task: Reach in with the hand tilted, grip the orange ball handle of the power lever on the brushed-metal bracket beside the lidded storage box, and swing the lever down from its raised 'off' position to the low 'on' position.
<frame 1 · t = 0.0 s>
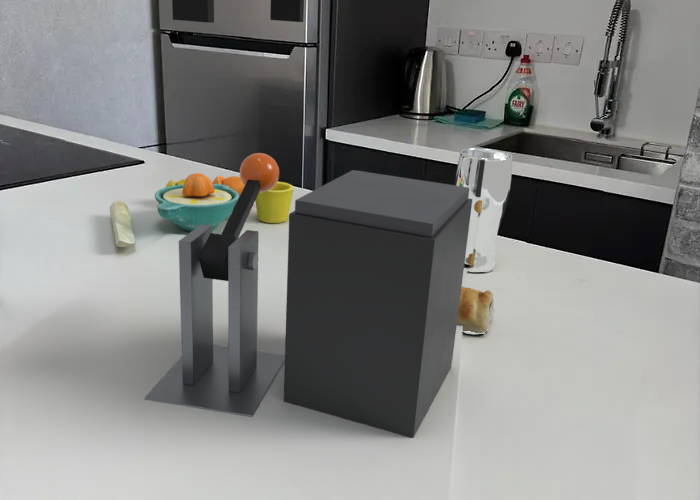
hand: (245, 21, 51), 30 cm above the countertop, tool pointing down, fingers open, 13 cm apart
lidded storage box: (371, 394, 59), on the countertop
power lever: (241, 210, 58), point 14 cm above the countertop, hinge at 25.0°
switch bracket: (220, 387, 59), on the countertop
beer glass: (471, 266, 90), on the countertop
toy juicer set: (186, 221, 101), on the countertop
pastry: (454, 322, 74), on the countertop
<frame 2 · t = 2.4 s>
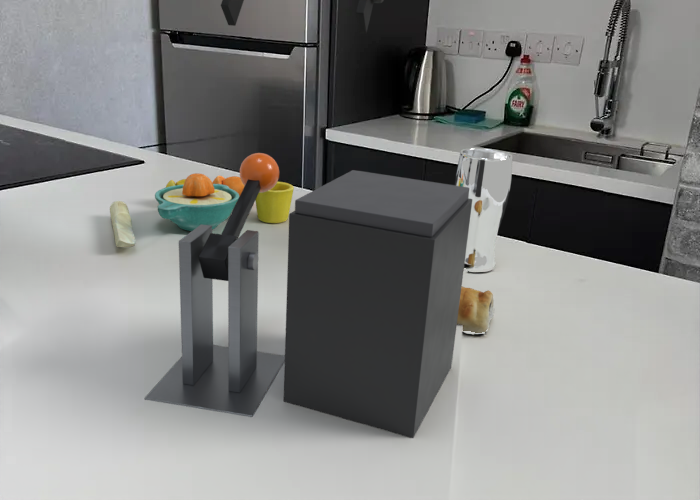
hand: (293, 19, 67), 30 cm above the countertop, tool tilted 45°, fingers open, 13 cm apart
nothing on the countertop moved.
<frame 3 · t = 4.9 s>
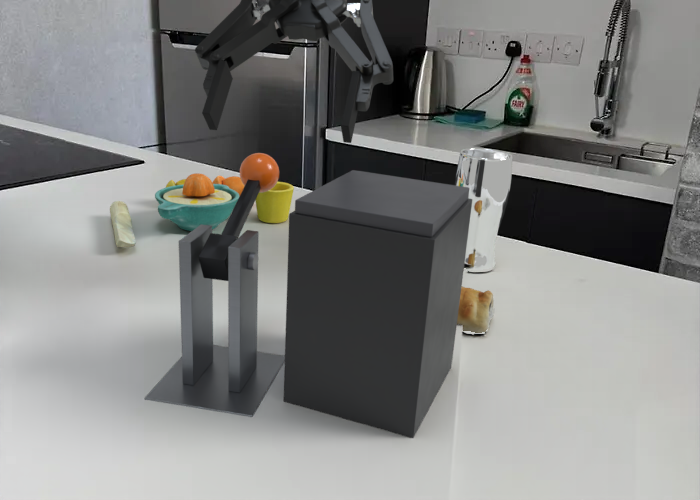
hand: (276, 128, 66), 20 cm above the countertop, tool tilted 45°, fingers open, 13 cm apart
nothing on the countertop moved.
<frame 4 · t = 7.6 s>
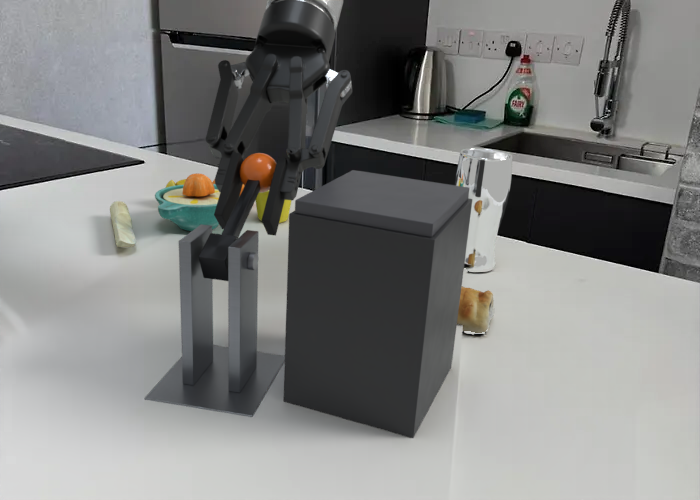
hand: (245, 224, 60), 13 cm above the countertop, tool tilted 45°, fingers closed on power lever, 4 cm apart
power lever: (241, 210, 58), point 14 cm above the countertop, hinge at 25.0°, touching gripper
everything else where it was.
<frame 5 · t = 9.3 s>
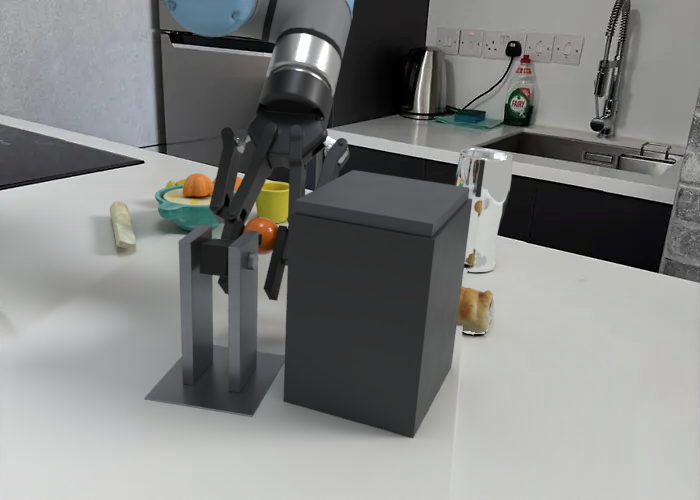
hand: (247, 291, 63), 6 cm above the countertop, tool tilted 45°, fingers closed on power lever, 4 cm apart
power lever: (243, 245, 60), point 11 cm above the countertop, hinge at -9.1°, touching gripper
everything else where it was.
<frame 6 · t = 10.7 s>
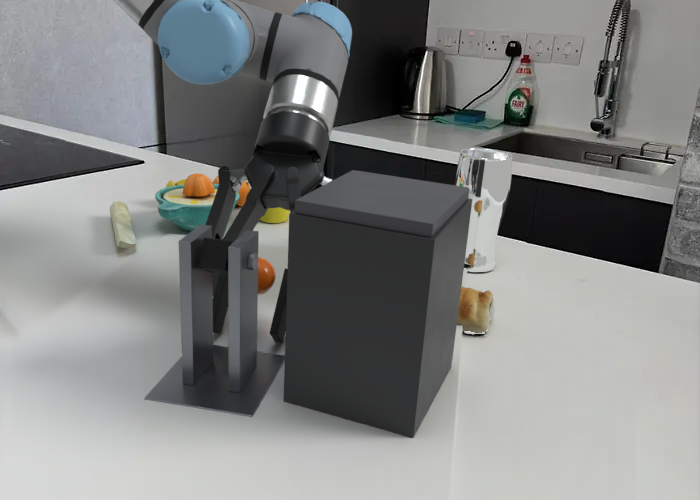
hand: (244, 333, 64), 2 cm above the countertop, tool tilted 45°, fingers open, 5 cm apart
power lever: (240, 267, 60), point 9 cm above the countertop, hinge at -29.3°
everything else where it was.
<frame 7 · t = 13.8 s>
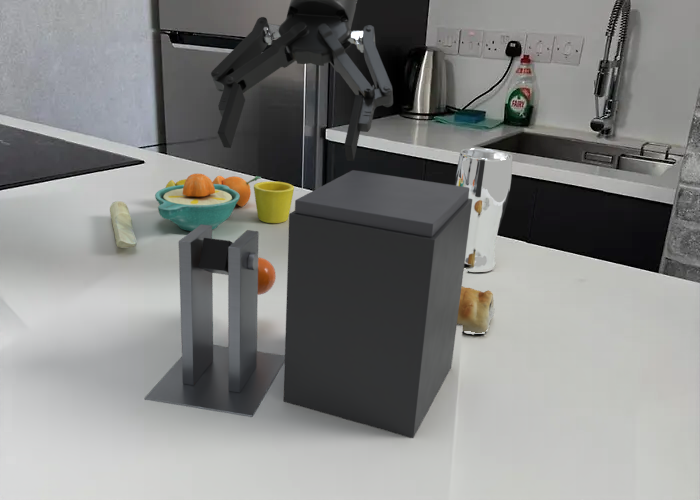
hand: (285, 147, 72), 17 cm above the countertop, tool tilted 45°, fingers open, 13 cm apart
nothing on the countertop moved.
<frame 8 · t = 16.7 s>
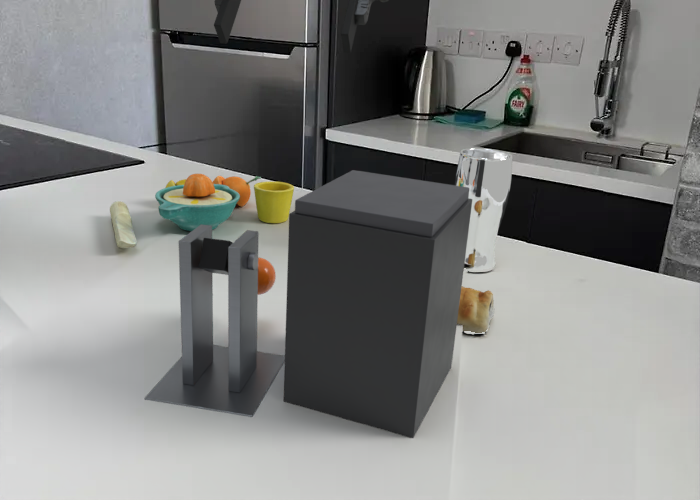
hand: (282, 39, 71), 28 cm above the countertop, tool tilted 45°, fingers open, 13 cm apart
nothing on the countertop moved.
at the end: power lever at -29° (first picture: +25°); the gripper is holding nothing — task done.
